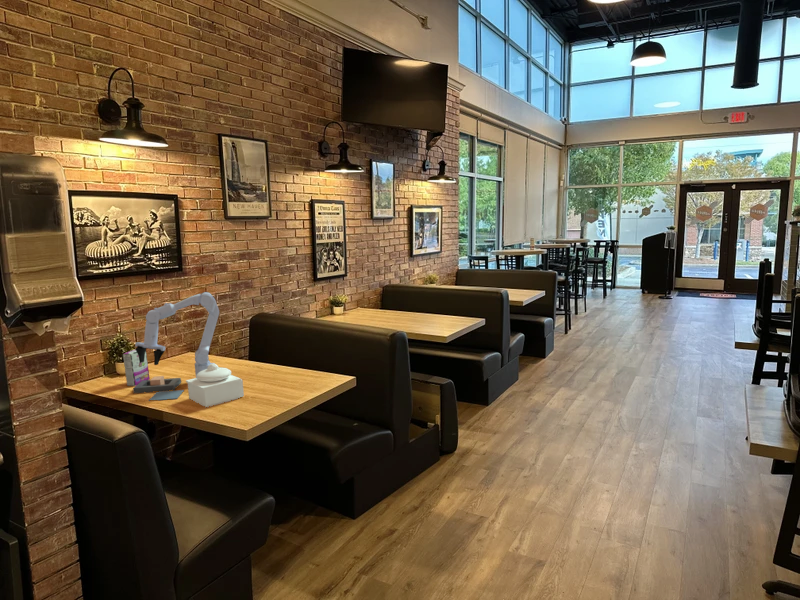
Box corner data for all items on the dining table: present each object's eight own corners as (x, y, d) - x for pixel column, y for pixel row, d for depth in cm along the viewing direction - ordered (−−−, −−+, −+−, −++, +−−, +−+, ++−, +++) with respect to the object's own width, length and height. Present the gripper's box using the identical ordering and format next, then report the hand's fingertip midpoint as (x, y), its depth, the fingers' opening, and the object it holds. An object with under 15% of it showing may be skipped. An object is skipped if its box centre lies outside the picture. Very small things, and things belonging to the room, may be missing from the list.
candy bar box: (141, 379, 271) (137, 347, 268) (150, 379, 270) (146, 348, 267) (126, 386, 260) (122, 353, 257) (135, 386, 259) (131, 353, 256)
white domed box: (244, 397, 236) (241, 362, 234) (204, 408, 224) (201, 371, 221) (225, 389, 249) (222, 356, 246) (187, 399, 236) (184, 364, 234)
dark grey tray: (181, 382, 262) (180, 377, 261) (173, 390, 250) (173, 385, 249) (142, 385, 259) (142, 380, 259) (133, 393, 247) (133, 388, 247)
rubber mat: (184, 390, 248) (183, 389, 248) (176, 399, 237) (176, 398, 237) (157, 392, 247) (157, 391, 247) (148, 401, 235) (148, 400, 235)
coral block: (164, 385, 258) (163, 376, 257) (161, 389, 252) (160, 379, 251) (155, 386, 257) (154, 376, 256) (151, 390, 251) (150, 380, 251)
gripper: (131, 334, 249) (129, 362, 250) (160, 338, 247) (157, 367, 248) (141, 332, 256) (139, 360, 257) (169, 336, 254) (166, 364, 255)
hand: (148, 363), depth 253 cm, fingers open, 7 cm apart
